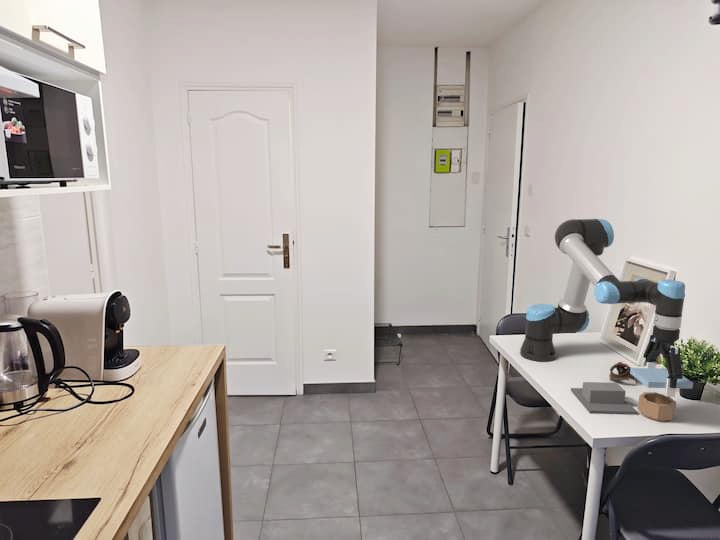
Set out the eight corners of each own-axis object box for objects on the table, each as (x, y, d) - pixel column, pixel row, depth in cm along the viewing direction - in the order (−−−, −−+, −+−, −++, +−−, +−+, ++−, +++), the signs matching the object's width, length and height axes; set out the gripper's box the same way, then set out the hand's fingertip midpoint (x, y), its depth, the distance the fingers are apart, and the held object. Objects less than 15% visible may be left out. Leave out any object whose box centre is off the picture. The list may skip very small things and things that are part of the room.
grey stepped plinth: (570, 390, 185) (572, 375, 184) (613, 391, 184) (615, 376, 183) (589, 413, 167) (591, 397, 166) (637, 414, 166) (639, 398, 165)
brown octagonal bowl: (633, 407, 171) (635, 391, 170) (662, 408, 171) (664, 392, 169) (648, 421, 161) (650, 405, 160) (679, 422, 161) (681, 406, 160)
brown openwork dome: (642, 387, 188) (636, 372, 186) (617, 395, 192) (610, 379, 189) (632, 368, 199) (625, 353, 196) (608, 375, 202) (601, 361, 200)
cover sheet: (630, 373, 170) (630, 367, 169) (671, 374, 169) (672, 368, 168) (648, 387, 158) (648, 381, 158) (692, 388, 157) (693, 382, 157)
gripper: (636, 316, 172) (630, 373, 176) (676, 338, 148) (667, 404, 152) (658, 316, 171) (651, 373, 175) (701, 339, 148) (692, 404, 152)
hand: (659, 387), depth 164 cm, fingers closed on cover sheet, 12 cm apart
